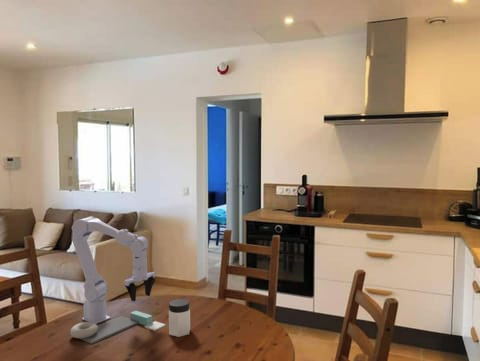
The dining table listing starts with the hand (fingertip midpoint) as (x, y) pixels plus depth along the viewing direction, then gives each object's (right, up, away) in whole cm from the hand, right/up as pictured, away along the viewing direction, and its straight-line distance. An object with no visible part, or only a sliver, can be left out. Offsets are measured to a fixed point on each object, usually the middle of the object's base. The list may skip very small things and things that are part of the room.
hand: (140, 298), depth 165 cm
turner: (+3, -11, -1) cm, 11 cm away
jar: (+18, -11, -9) cm, 23 cm away
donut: (-14, -9, -15) cm, 22 cm away
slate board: (-12, -11, -6) cm, 17 cm away
